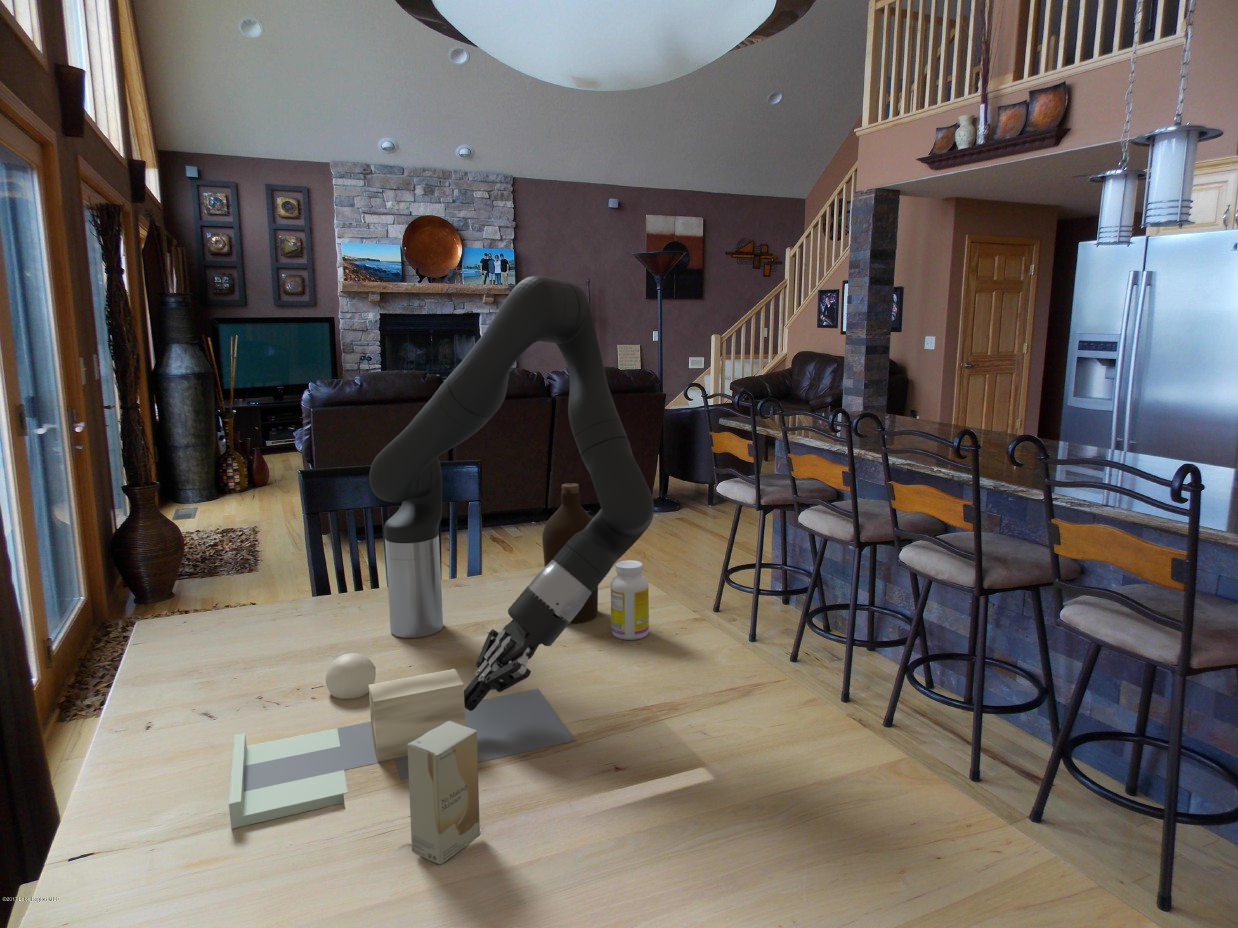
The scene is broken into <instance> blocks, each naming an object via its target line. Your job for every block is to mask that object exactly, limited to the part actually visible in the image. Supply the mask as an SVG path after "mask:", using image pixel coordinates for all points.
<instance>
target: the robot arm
mask: <svg viewBox="0 0 1238 928" xmlns="http://www.w3.org/2000/svg"><path fill="white" fill-rule="evenodd" d="M592 312H593V311H592V309H591V305H590V301H589V300H588V297H587V295H586V293H585V291H584V290H583V289H582V288H581V287H580V286H579V285H577V284H575V283H573V282H571V281H569V280H567V281H566V280H563V279H560V278H559V279H558V278H554V277H548V276H543V275H532V276H528V277H525V278H524V279H522V280H521V281H519V282H518V283H517V284H516V285H515V286H514V288H513V289H512V290H511V291H510V293H509V294H508V296H507V297H506V298H505V300H504V302H503V303H502V305H501V306H500V308H499V309H498V311H497V313H496V314H495V315H494V317H493V319H492V320H491V322H490V324H489V325H488V327H487V328H486V330H485V331H484V332H483V333H482V335H481V337H480V338H479V339H478V340H477V341H476V343H475V344H474V345H473V347H472V348H470V350H469V351H468V353H467V354H466V355H465V357H464V358H463V360H462V361H461V362H460V363H459V364H458V365H457V366H456V367H455V368H454V369H453V371H452V372H451V373H450V374H449V375H448V377H447V378H446V379H444V381H443V383H442V384H440V386H438V389H436V391H435V393H434V394H433V395H432V397H431V398H430V399H429V400H428V401H427V403H426V404H425V405H424V406H423V407H422V408H421V409H420V410H419V412H417V414H416V415H415V416H414V418H413V419H412V420H411V421H410V423H409V424H408V425H407V426H406V427H405V428H404V429H403V430H402V431H400V433H399V434H398V435H397V436H396V437H394V438H393V440H392V441H390V442H389V443H388V444H387V445H386V446H385V447H384V448H383V449H382V450H381V451H380V452H379V453H378V454H377V455H376V456H375V457H374V459H373V461H372V463H371V466H370V468H369V473H368V474H369V476H368V479H369V485H370V489H371V491H372V492H373V494H374V495H375V497H377V498H378V499H380V500H382V501H384V502H389V503H399V502H401V506H400V507H399V509H398V510H397V511H396V512H395V513H394V514H393V515H392V516H391V517H390V518H388V520H386V521H385V523H384V529H383V533H384V546H385V557H386V558H385V561H386V575H387V578H386V579H387V591H388V592H387V593H388V606H389V607H388V611H389V625H390V626H389V627H390V632H391V634H392V635H394V636H395V637H399V638H405V639H412V638H413V639H414V638H415V639H416V638H423V637H427V636H432V635H434V634H436V633H438V632H440V631H441V630H442V629H443V628H444V619H443V617H444V614H443V597H442V596H443V595H442V594H443V593H442V573H441V555H440V537H439V535H440V534H439V527H440V523H441V520H442V517H443V516H442V515H443V474H442V468H441V467H442V466H441V463H440V458H439V457H440V456H441V455H442V454H445V453H446V452H448V451H450V450H451V449H453V448H455V447H457V446H458V445H460V444H462V443H463V442H464V441H466V440H468V439H469V438H470V437H473V436H474V435H475V434H476V433H478V432H479V431H480V430H481V429H482V428H483V427H484V426H485V425H486V424H487V423H488V421H489V420H491V418H492V417H493V416H494V415H495V414H496V413H497V412H498V411H499V410H500V408H501V406H502V405H503V403H504V402H505V398H506V395H507V391H508V383H509V374H510V371H511V369H512V367H513V365H514V364H515V363H516V361H518V359H519V358H520V357H521V356H522V355H523V354H524V353H525V352H526V350H528V349H529V348H530V347H531V346H533V344H536V343H537V342H538V343H539V342H542V343H550V344H555V345H556V346H557V348H558V350H559V352H560V353H561V356H562V357H563V359H564V361H565V365H566V366H567V370H568V376H569V377H568V378H569V393H568V405H567V411H568V413H567V415H568V420H569V426H570V429H571V432H572V435H573V438H574V441H575V444H576V447H577V449H578V451H579V454H580V457H581V459H582V462H583V464H584V466H585V468H586V470H587V471H588V472H589V474H590V478H591V481H592V485H593V487H594V489H595V491H594V492H595V494H596V496H597V499H598V504H599V506H600V509H599V510H598V512H597V513H596V514H595V516H593V517H592V518H593V519H592V520H591V521H590V523H589V524H588V525H587V526H586V527H585V529H584V530H582V531H580V532H578V533H576V534H575V535H574V536H573V537H572V538H571V539H570V540H569V541H568V542H567V543H566V545H564V546H563V548H562V549H561V550H560V551H559V552H558V554H557V555H556V556H555V557H554V558H553V560H552V561H551V562H550V563H549V564H548V565H547V566H545V565H544V567H543V568H542V569H541V570H540V571H539V572H538V573H537V574H536V576H535V577H533V579H532V580H531V582H530V583H529V584H528V585H527V586H526V588H525V589H524V590H523V591H522V592H521V594H519V596H518V597H517V598H516V600H515V601H513V602H512V604H511V605H510V607H508V610H507V614H508V616H509V617H510V618H511V619H512V620H510V622H509V623H507V624H505V626H504V627H503V628H502V630H501V631H499V632H498V631H497V630H495V629H493V628H492V629H491V630H490V631H489V633H488V634H487V635H486V639H485V641H484V643H483V645H482V648H481V651H480V653H479V654H478V656H477V660H476V661H475V665H474V666H475V668H477V669H476V671H475V675H474V676H475V677H474V678H473V679H472V680H471V682H470V683H469V684H468V685H467V686H466V687H465V688H464V704H465V708H466V709H468V710H469V711H473V710H474V709H475V708H476V707H477V705H478V704H479V703H480V702H481V701H482V700H483V699H485V697H486V696H487V695H488V694H489V692H490V691H497V692H498V693H501V692H503V691H505V690H507V689H509V688H511V687H512V686H515V685H516V684H518V683H521V681H523V680H526V679H527V678H528V677H530V675H531V670H530V669H529V668H528V666H527V665H528V662H529V660H531V659H532V657H534V655H535V653H536V651H537V649H538V647H539V646H540V645H544V646H545V647H551V646H552V645H553V644H554V643H555V642H556V641H557V639H558V638H559V637H560V635H561V634H562V633H563V632H564V631H565V629H566V628H567V626H569V625H570V624H571V623H570V622H571V621H572V620H573V618H574V617H575V616H576V615H577V613H578V612H579V611H580V610H581V608H582V607H583V606H584V604H585V603H586V601H587V599H588V598H589V596H590V595H591V594H592V593H591V592H593V591H594V590H595V589H596V587H597V586H598V587H599V585H600V584H601V583H602V581H603V580H604V579H605V578H606V577H607V575H608V574H609V573H610V572H611V569H612V568H613V567H614V565H616V563H617V562H618V560H620V558H622V557H623V556H624V555H625V554H626V553H627V552H628V551H629V550H630V549H631V547H633V546H634V544H635V543H636V542H638V540H639V539H640V538H641V537H642V536H643V534H644V533H645V532H646V531H647V530H648V528H649V527H650V525H651V523H652V521H653V519H654V509H655V507H654V506H655V504H654V499H653V495H652V493H651V492H652V491H651V489H650V488H649V485H648V483H647V481H646V479H645V476H644V475H643V472H642V470H641V468H640V466H639V464H638V462H637V460H636V459H635V456H634V454H633V450H632V447H631V443H630V441H629V439H628V435H627V433H626V430H625V427H624V426H623V423H622V421H621V418H620V417H621V416H620V415H619V413H618V410H617V407H616V405H615V402H614V399H613V396H612V393H611V390H610V387H609V383H608V379H607V375H606V371H605V366H604V360H603V358H602V357H603V356H602V353H601V349H600V345H599V339H598V335H597V331H596V327H595V320H594V316H593V313H592Z"/></svg>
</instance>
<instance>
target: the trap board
mask: <svg viewBox="0 0 1238 928" xmlns="http://www.w3.org/2000/svg"><path fill="white" fill-rule="evenodd" d="M465 725H466V727H469V728H471V729H474V730H477V754H478V764H479V763H483V762H488V761H492V760H497V759H501V758H505V757H511V756H514V755H518V754H525V753H528V752H531V751H536V750H541V749H545V748H549V747H553V746H554V747H555V746H559V745H563V744H569V743H571V742H576V741H577V739H576V738H575V737H574V736H573V734H572V733H571V731H570V730H569V729H568V727H567V726H566V724H565V723H564V722H563V720H562V719H561V718H560V717H559V715H558V714H557V712H556V711H555V709H554V708H553V707H552V705H551V704H550V702H549V701H548V700H547V698H546V697H545V696H544V695H543V694H542V691H541V690H540V689H539V688H533V689H530V690H524V691H520V692H515V693H510V694H505V695H500V696H499V695H498V696H494V697H489V698H483V699H482V701H481V702H480V703H479V704H478V705H477V707H476V708H475V709H474V710H473V711H469V710H468V709H466V708H465ZM394 760H395V763H396V768H397V771H398V774H399V778H400V781H405V780H409V769H408V755H407V756H403V757H398V758H394V759H390V760H385V761H381V762H378V761H377V758H376V754H375V750H374V746H373V742H372V728H371V721H365V722H362V723H361V722H360V723H356V724H352V725H346V726H341V727H336V728H331V729H326V730H321V731H316V732H311V733H306V734H300V735H295V736H291V737H284V738H280V739H276V740H269V741H265V742H260V743H254V744H250V745H247V739H246V732H244V733H239V734H234V739H233V751H232V760H231V761H232V763H231V775H230V787H229V795H228V797H229V798H228V811H229V819H230V829H231V830H233V829H235V828H241V827H245V826H249V825H254V824H257V823H261V822H267V821H271V820H276V819H279V818H283V817H287V816H288V817H289V816H293V815H297V814H301V813H305V812H309V811H314V810H317V809H322V808H326V807H333V806H335V805H340V804H344V803H345V798H344V794H347V793H349V792H348V786H347V785H348V784H347V779H346V773H345V771H347V770H354V769H357V768H358V769H359V768H361V767H365V766H366V767H367V766H372V765H376V764H380V763H384V762H389V761H394Z"/></svg>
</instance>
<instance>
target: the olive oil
mask: <svg viewBox="0 0 1238 928" xmlns="http://www.w3.org/2000/svg"><path fill="white" fill-rule="evenodd" d="M579 488H580V484H578V483H575V482H574V483H573V482H571V483H569V482H566V483H563V484H561V492H560V497H561V505H560V506H559V507H558V508H557V509H556V511H555V512H553V514H552V515H551V516H550V518H549V519H547V521H546V522H545V524H544V527H543V530H542V531H543V532H542V535H541V536H542V538H541V539H542V551H543V563H544V567H545V566H547V565H548V564H549V563H550V562H551V561H552V560H553V558H554V557H555V556H556V555H557V554H558V552H559V551H560V550H561V549H562V548H563V546H564V545H566V543H567V542H568V541H569V540H570V539H571V538H572V537H573V536H574V535H575V534H576V533H578V532H580V531H582V530H584V529H585V527H586V526H587V525H588V524H589V523H590V521H591V520H592V519H593V518H594V517H593V516H592V515H591V514H589V513H588V512H587V510H586V509H584V508H583V506H582V505H581V503H580V502H581V501H580V500H581V499H580V495H581V494H580V491H579ZM591 593H592V594H591V595H590V596H589V598H588V599H587V601H586V603H585V604H584V606H583V607H582V608H581V610H580V611H579V612H578V613H577V615H576V616H575V617H574V618H573V620H572V621H571V622H570V623H569V624H580V623H581V624H582V623H586V622H590V621H592V620H593V619H595V618H596V617H597V616H598V614H599V613H598V609H599V608H598V607H599V605H598V604H599V601H598V600H599V585H598V586H597V587H596V589H595V590H594V591H593V592H591Z"/></svg>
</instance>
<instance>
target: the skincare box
mask: <svg viewBox="0 0 1238 928" xmlns="http://www.w3.org/2000/svg"><path fill="white" fill-rule="evenodd" d="M478 765H479V763H478V754H477V730H474V729H471V728H469V727H466V726H463V725H461V724H458V723H455V722H452V721H447V722H445V723H444V724H442V725H440V726H438V727H437V728H435V729H432V730H430V731H428V732H427V733H425V734H424V735H422V736H421V737H419V738H417V739H415V740H414V741H412V742H410V743H408V769H409V779H408V788H409V789H408V791H409V811H410V812H409V815H410V839H411V851H412V852H413V853H415V854H417V855H419V856H421V857H423V858H424V859H426V860H429V861H431V862H433V863H435V864H438V865H443V864H444V863H445V862H446V861H448V860H449V859H451V857H453V856H454V855H456V854H457V853H458V852H459V851H461V850H462V849H464V848H465V847H466V846H467V845H469V844H470V843H471V842H472V841H474V840H475V839H476V838H477V837H479V836H480V835H481V829H480V828H481V827H480V795H479V794H480V792H479V791H480V789H479V766H478Z"/></svg>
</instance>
